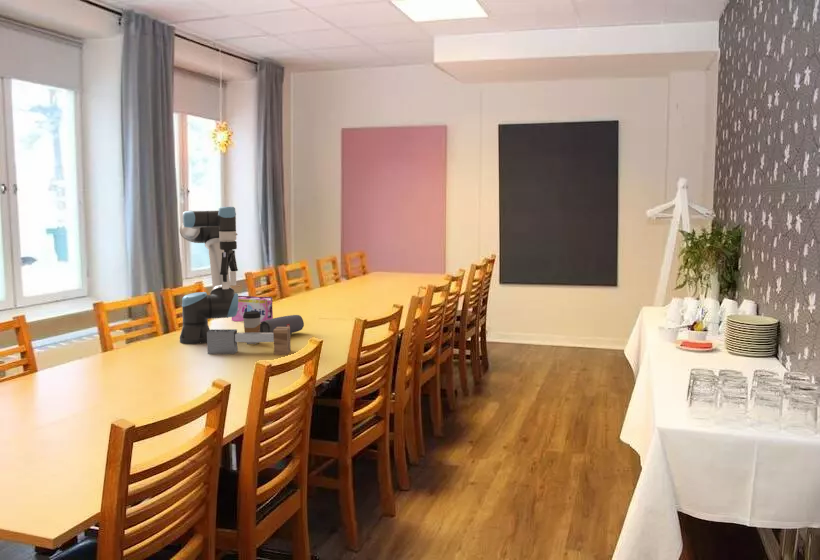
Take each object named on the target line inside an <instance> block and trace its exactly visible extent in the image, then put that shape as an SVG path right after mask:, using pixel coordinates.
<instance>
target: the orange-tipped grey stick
mask: <svg viewBox="0 0 820 560" xmlns="http://www.w3.org/2000/svg"><path fill="white" fill-rule="evenodd" d="M234 342H237V343H246V342H259V343H274V334H273V333H245V332H237V333H234Z"/></svg>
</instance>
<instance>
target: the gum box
mask: <svg viewBox="0 0 820 560" xmlns="http://www.w3.org/2000/svg"><path fill="white" fill-rule="evenodd" d="M249 311H257V312H259V313H260V316H261V317H260V323H261V322H262V321H265V320H269V319H273V318H274V316H273V314H274V313H273V297H271V296H270V297H269V296H253V295H251V296H250V295H238V311H237V315H236V316H235V317H231V321H232V320H233V321H232V322H241V321H244V319H243V315H244V312H249Z"/></svg>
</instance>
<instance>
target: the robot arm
mask: <svg viewBox="0 0 820 560" xmlns="http://www.w3.org/2000/svg"><path fill="white" fill-rule="evenodd" d="M179 233H180V236H181V237H182V238H183V239H184V240H186V241H188V242H190V243H194V244H204V246H205V248H206V249H208V256H209V265H210V275H211V283H212V289H211V290H210V292H209V294H207V292H206V291H202V292H201V291H198V292H193V293H189V294H186V295H184V296H183V297H182V298H181V307H182V308H181V309H182V328H181V331H180V334H179V342H180V343H181V344H187V345H188V344H193V345H194V344H195V345H197V344H204V343H207V332H208V331H209V330H211V329H210V327H209V322H208V320H209V319H224V318H225V319H226V318H227V319H229V318H232V317H235V316H236V315H237V311H238V296H239V293H236V292H235V289H234V288H232V287H231V286H237V272H238V271H239V269H238V264H237V260H236V259H237V258H236V251H235V250H237V249H238V248H237V246H238V245H237V243H238V242H237V241H236V240H237V236H238V233H237V211H236V207H234V206H219V207H218V210H187V211H183V212H182V223H181V224H180V226H179Z"/></svg>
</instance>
